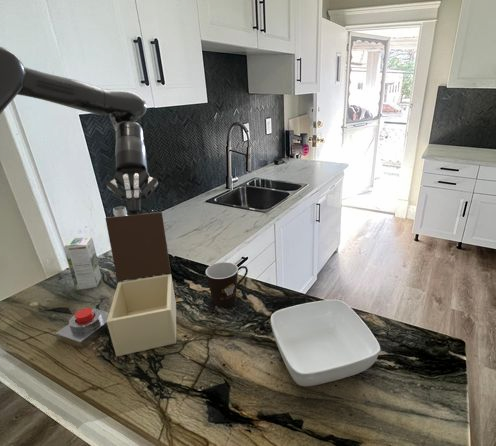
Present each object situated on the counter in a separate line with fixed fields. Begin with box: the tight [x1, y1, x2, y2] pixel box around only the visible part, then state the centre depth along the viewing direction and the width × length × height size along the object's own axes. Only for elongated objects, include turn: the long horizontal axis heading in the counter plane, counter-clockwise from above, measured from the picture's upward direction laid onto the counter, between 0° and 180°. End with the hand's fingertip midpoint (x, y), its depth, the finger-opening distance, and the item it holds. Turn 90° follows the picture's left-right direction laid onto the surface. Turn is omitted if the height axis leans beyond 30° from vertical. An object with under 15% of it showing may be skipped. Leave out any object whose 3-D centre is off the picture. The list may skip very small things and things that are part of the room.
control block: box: [54, 307, 110, 350], centre depth 77 cm, size 10×8×4 cm
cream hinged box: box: [107, 273, 177, 357], centre depth 77 cm, size 16×13×10 cm
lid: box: [105, 211, 172, 282], centre depth 80 cm, size 16×13×1 cm
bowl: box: [270, 299, 381, 387], centre depth 70 cm, size 20×20×8 cm
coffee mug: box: [205, 261, 249, 308], centre depth 88 cm, size 12×9×10 cm
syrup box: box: [63, 236, 103, 291], centre depth 93 cm, size 6×6×14 cm
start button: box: [74, 307, 94, 324], centre depth 76 cm, size 4×4×2 cm
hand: (134, 213), depth 81 cm, fingers closed
